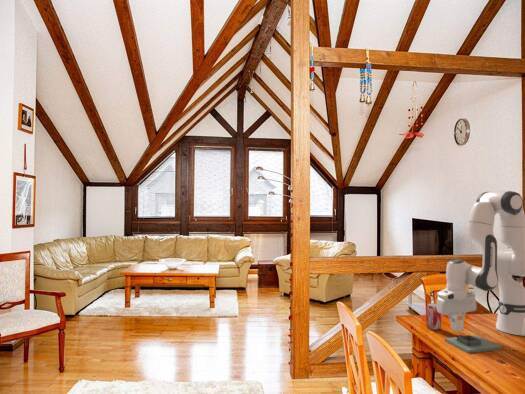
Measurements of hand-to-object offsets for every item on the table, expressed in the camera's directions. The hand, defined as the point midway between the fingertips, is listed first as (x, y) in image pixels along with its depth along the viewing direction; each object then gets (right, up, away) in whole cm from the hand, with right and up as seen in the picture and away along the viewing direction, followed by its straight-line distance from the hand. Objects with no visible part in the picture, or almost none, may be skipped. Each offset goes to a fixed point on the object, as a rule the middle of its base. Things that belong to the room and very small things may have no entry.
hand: (456, 321), depth 180 cm
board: (0, -6, -13) cm, 14 cm away
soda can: (-7, -7, +9) cm, 13 cm away
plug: (0, -4, 0) cm, 4 cm away
